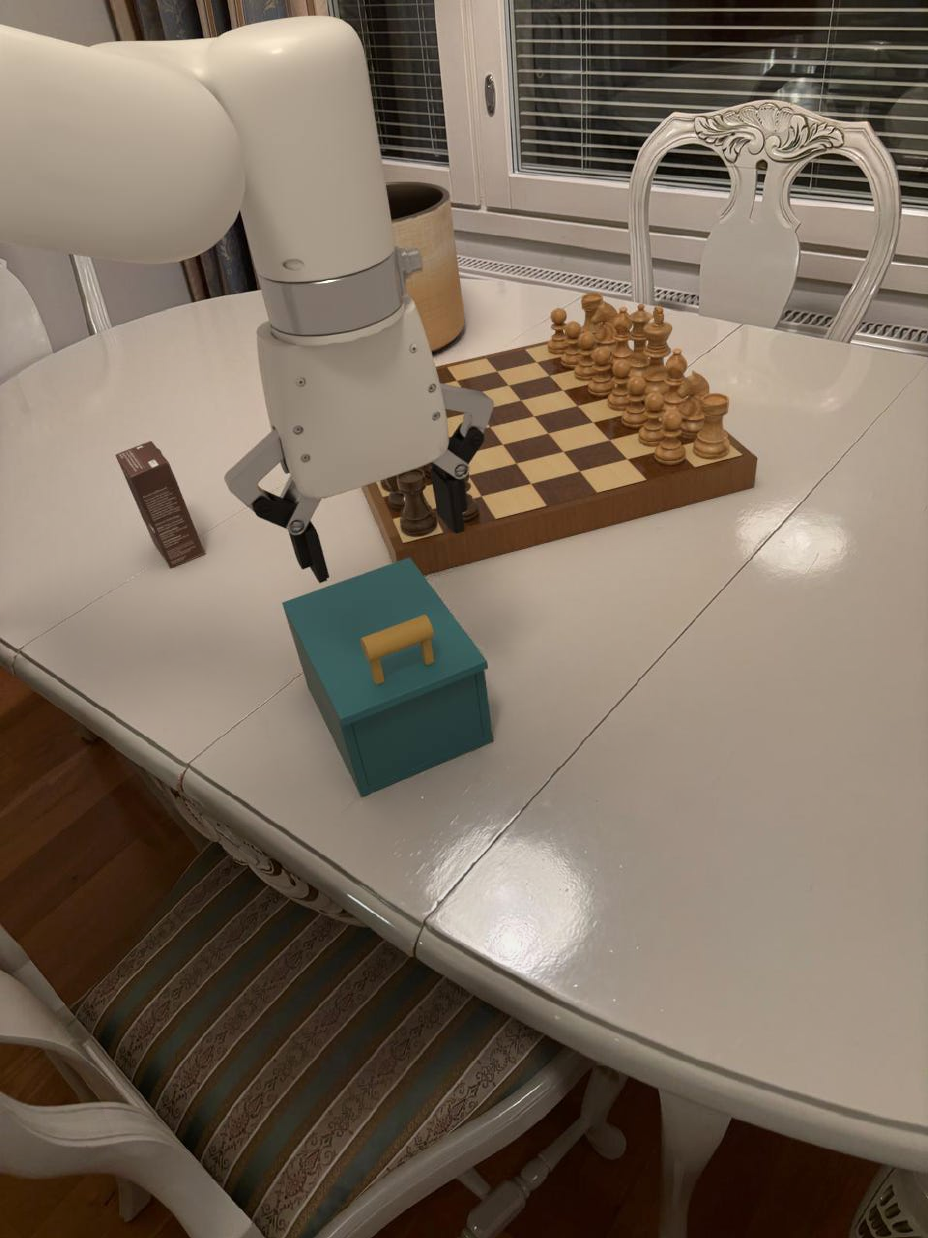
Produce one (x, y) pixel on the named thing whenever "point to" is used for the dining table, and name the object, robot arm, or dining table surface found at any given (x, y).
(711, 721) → the dining table surface
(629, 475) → the chess set
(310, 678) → the chest
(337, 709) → the lid
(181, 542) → the box
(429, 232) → the planter
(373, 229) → the robot arm
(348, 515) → the dining table surface
